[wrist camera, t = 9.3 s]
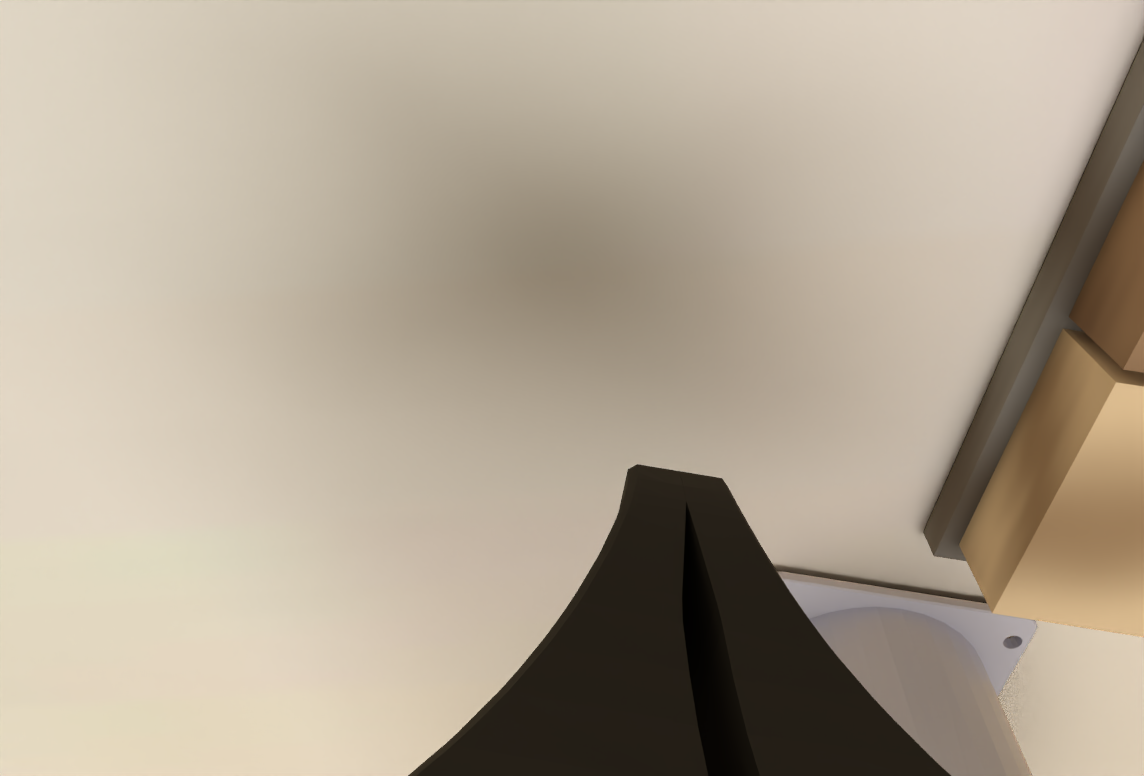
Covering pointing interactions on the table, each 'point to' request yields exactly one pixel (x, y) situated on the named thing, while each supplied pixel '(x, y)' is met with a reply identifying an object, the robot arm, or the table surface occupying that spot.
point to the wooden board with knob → (1067, 416)
